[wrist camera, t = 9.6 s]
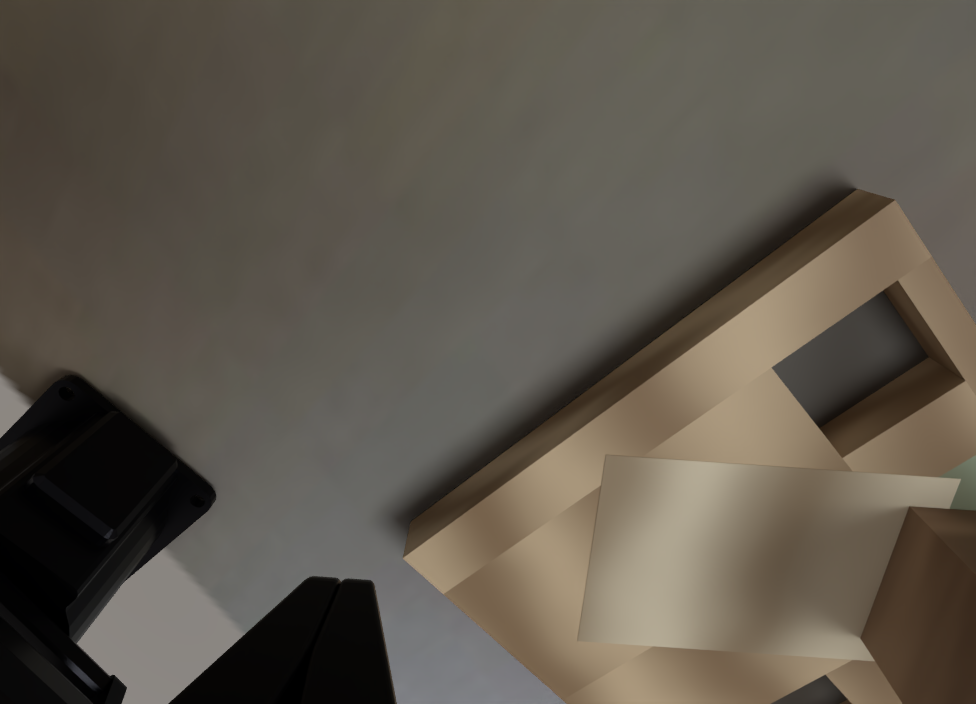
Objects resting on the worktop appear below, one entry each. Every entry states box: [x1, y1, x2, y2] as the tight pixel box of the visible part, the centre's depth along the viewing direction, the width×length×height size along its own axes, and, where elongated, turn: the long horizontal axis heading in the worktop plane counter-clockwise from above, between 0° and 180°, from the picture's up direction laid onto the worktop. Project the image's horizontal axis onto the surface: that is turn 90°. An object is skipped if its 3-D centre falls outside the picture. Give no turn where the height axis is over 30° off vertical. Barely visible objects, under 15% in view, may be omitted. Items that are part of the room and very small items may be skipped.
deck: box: [403, 189, 976, 704], centre depth 23 cm, size 18×18×2 cm
